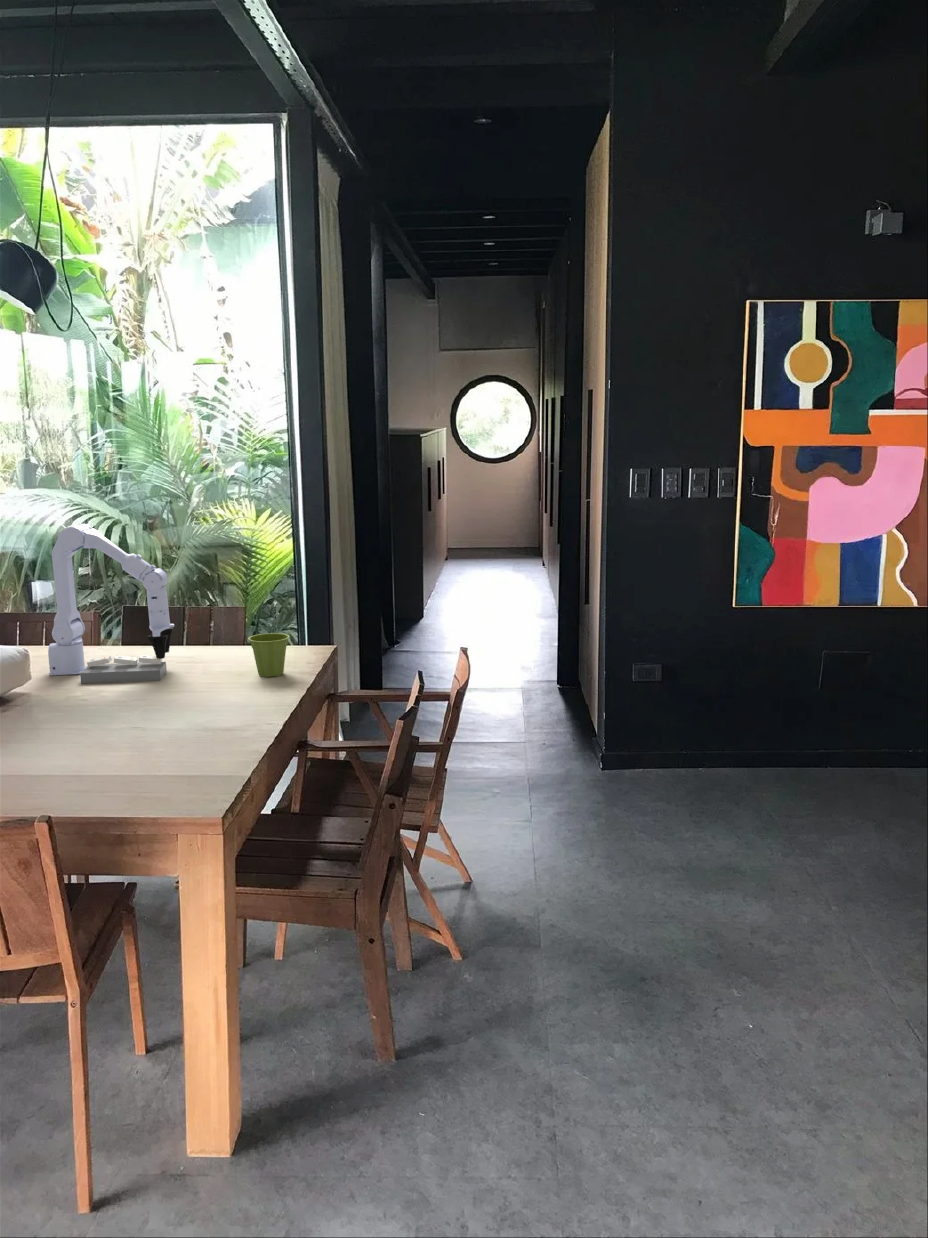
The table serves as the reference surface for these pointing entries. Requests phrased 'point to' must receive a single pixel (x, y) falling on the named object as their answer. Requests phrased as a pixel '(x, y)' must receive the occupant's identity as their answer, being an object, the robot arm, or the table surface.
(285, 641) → the plant pot
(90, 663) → the rocker left
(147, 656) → the rocker right
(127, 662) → the rocker middle
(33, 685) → the table surface
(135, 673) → the grey flat tray
